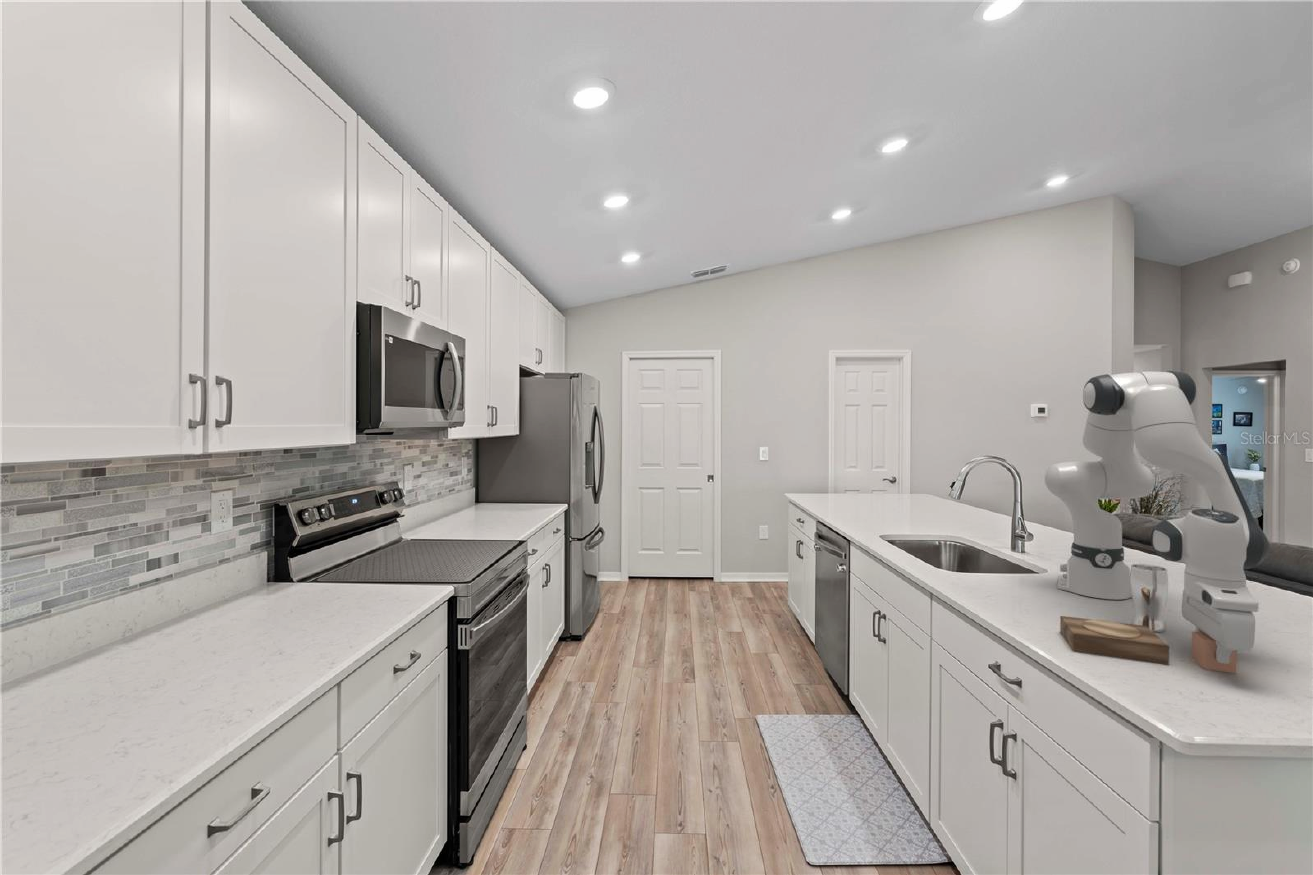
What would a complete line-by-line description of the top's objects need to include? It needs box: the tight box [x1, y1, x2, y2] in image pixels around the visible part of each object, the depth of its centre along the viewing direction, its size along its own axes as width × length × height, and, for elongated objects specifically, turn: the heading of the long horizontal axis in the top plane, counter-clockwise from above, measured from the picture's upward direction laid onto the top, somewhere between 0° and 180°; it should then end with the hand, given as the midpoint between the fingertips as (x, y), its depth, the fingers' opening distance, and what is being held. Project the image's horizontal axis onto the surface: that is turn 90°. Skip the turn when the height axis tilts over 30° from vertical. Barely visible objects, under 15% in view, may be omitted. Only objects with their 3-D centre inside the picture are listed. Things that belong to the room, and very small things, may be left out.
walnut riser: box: [1059, 615, 1170, 665], centre depth 120 cm, size 12×16×4 cm
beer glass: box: [1130, 563, 1169, 633], centre depth 131 cm, size 7×7×15 cm
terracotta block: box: [1191, 630, 1238, 674], centre depth 110 cm, size 5×5×6 cm
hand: (1213, 655), depth 110 cm, fingers closed on terracotta block, 5 cm apart
